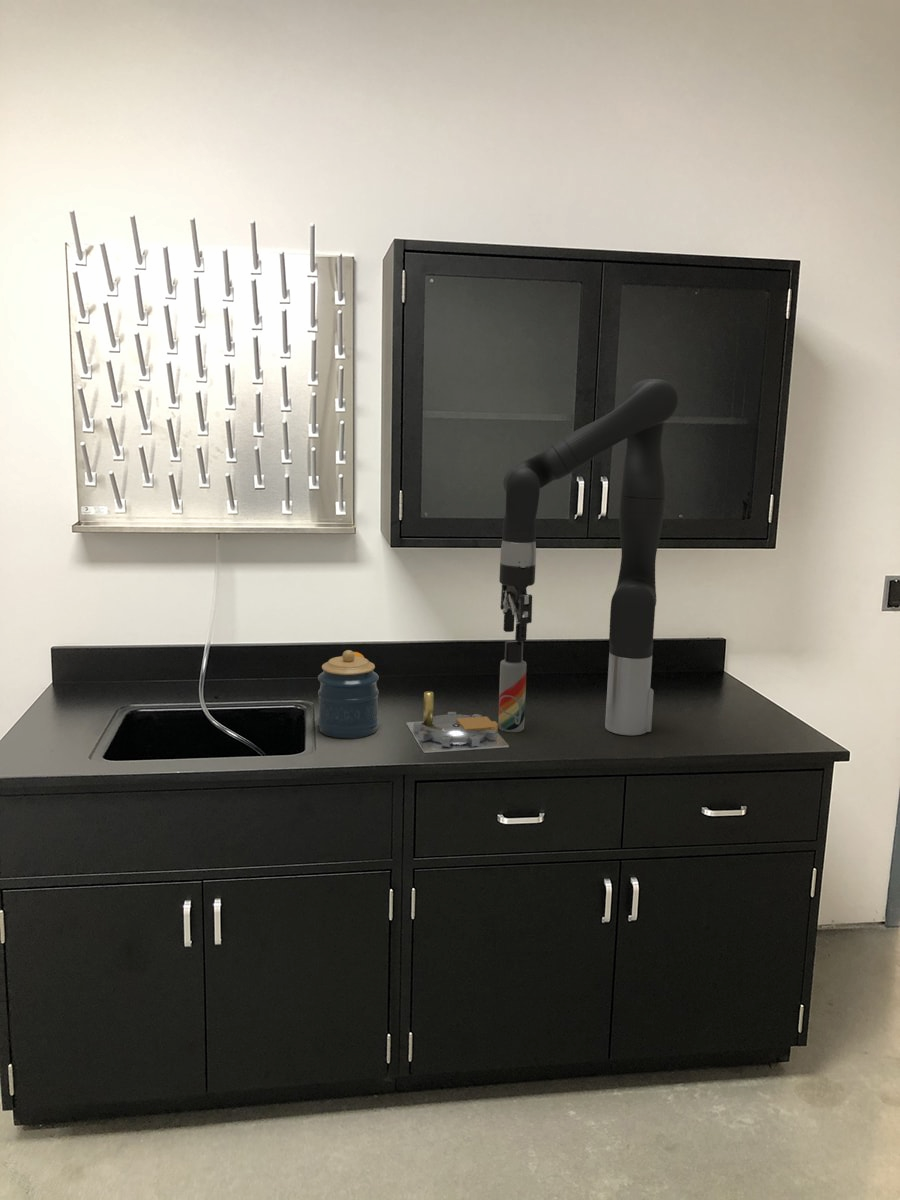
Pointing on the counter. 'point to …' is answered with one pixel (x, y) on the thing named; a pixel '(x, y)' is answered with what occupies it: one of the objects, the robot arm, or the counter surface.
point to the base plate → (436, 746)
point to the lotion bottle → (512, 688)
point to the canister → (348, 697)
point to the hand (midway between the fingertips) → (514, 636)
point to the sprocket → (454, 726)
